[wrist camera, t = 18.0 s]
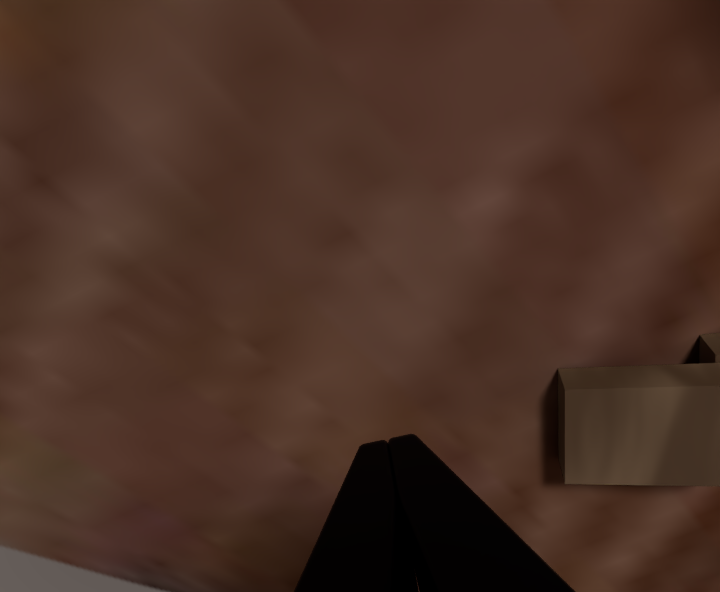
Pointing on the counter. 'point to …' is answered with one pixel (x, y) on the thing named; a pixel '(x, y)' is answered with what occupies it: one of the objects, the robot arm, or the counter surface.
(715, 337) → the walnut domino
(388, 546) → the robot arm
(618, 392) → the walnut domino
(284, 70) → the counter surface
